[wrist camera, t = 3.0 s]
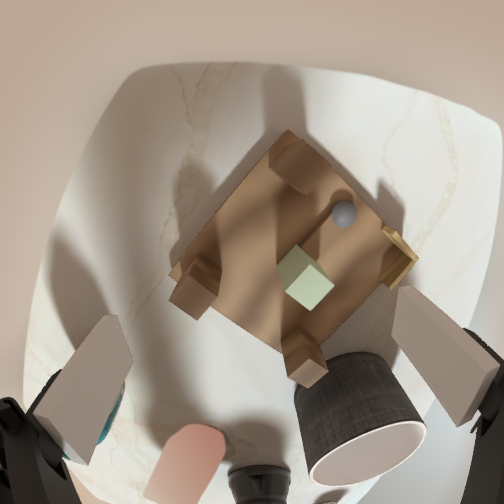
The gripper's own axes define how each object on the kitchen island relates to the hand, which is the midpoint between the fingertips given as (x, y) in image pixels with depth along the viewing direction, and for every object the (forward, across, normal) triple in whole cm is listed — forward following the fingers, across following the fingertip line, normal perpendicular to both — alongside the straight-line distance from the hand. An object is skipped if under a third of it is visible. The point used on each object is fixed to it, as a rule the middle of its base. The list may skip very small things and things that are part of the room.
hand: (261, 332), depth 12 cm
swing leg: (+21, +8, -2) cm, 22 cm away
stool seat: (+23, +5, -5) cm, 24 cm away
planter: (+23, +14, -30) cm, 41 cm away
